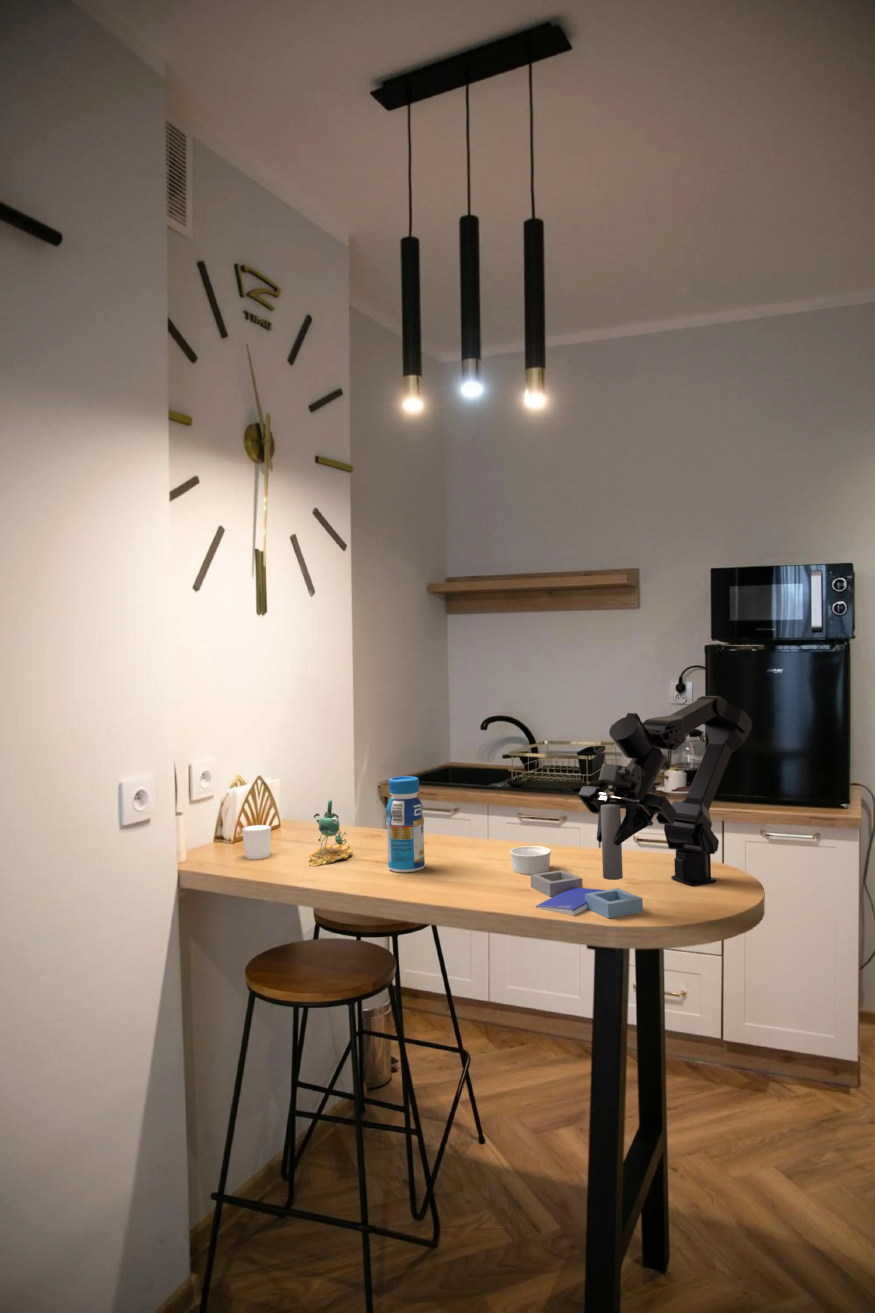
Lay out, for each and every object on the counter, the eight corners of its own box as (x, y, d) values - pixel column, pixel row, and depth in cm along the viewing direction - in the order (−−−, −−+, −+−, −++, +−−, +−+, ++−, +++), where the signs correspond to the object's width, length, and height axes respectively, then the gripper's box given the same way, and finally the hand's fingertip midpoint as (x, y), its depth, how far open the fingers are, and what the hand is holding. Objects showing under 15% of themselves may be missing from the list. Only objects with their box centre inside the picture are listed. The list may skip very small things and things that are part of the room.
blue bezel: (618, 901, 162) (618, 888, 162) (642, 912, 155) (642, 898, 155) (585, 907, 159) (584, 894, 159) (608, 918, 152) (608, 904, 152)
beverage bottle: (381, 867, 193) (378, 778, 193) (415, 861, 197) (412, 774, 197) (397, 875, 186) (394, 782, 186) (432, 869, 190) (429, 778, 189)
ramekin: (549, 876, 182) (549, 855, 182) (507, 875, 183) (507, 855, 183) (552, 865, 190) (552, 846, 190) (512, 864, 192) (512, 845, 192)
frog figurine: (369, 850, 210) (365, 791, 209) (330, 877, 194) (324, 813, 192) (336, 847, 214) (331, 789, 213) (294, 873, 198) (289, 810, 197)
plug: (607, 873, 160) (604, 803, 159) (625, 876, 158) (622, 805, 158) (600, 878, 157) (597, 807, 156) (618, 880, 155) (616, 808, 155)
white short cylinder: (266, 860, 203) (265, 830, 203) (238, 860, 204) (237, 830, 204) (276, 853, 210) (275, 824, 210) (249, 853, 211) (248, 824, 211)
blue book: (572, 908, 155) (607, 889, 164) (535, 904, 160) (570, 886, 169) (573, 917, 155) (608, 898, 164) (536, 913, 160) (571, 894, 169)
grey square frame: (562, 882, 176) (562, 870, 176) (582, 891, 170) (582, 878, 170) (531, 887, 173) (530, 875, 173) (550, 896, 167) (549, 883, 167)
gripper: (582, 743, 166) (545, 809, 159) (665, 750, 152) (629, 823, 145) (609, 779, 172) (575, 844, 165) (691, 788, 158) (658, 860, 151)
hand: (607, 842), depth 156 cm, fingers closed on plug, 3 cm apart
